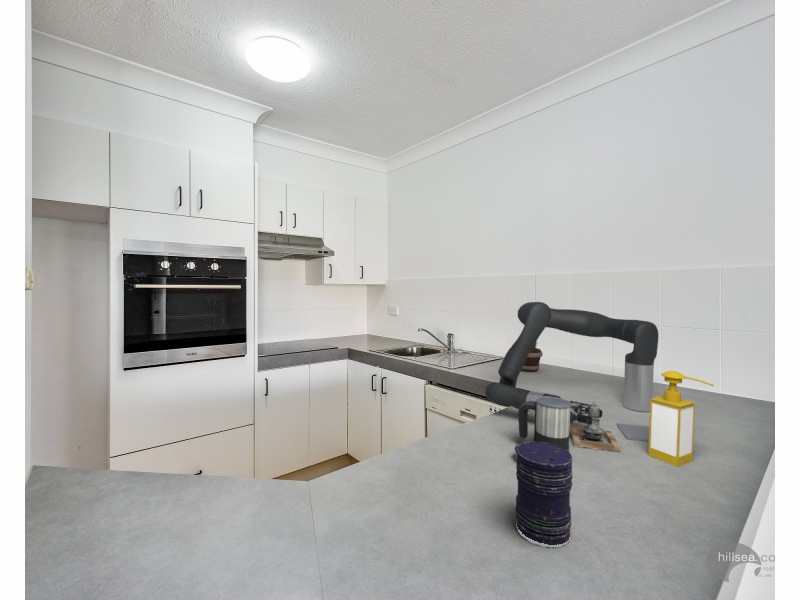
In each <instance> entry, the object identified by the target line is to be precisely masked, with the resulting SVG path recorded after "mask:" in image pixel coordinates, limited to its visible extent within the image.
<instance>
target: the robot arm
mask: <svg viewBox="0 0 800 600" xmlns="http://www.w3.org/2000/svg"><path fill="white" fill-rule="evenodd" d="M517 318H518V320H519V322H520V323H521V324H523V328H522V331H521V332H520V334H519V335H518V337H517V339H516V340H515V341H514V343H513V344H512V345H511V346H510V347H509V348H508V350H507V352H506V353H505V355H504V357H503V360H502V362H501V364H500V366H499V369H498V376H500V378H499V382H495V381H494V382H491V383H489V384H488V385H487V386H486V387H485V389H484V393H485V397H486V398H487V400H488V401H489V402H492V403H494V404H497V405H499V406H501V407H502V406H510V407H511V408H515V409H517V410H519V408H520V406H521V405H522V404H523V403H525V402H527V401H535V402H536V398H538V397H543V396H545V397H547V396H548V397H557V398H561V399H562V397H560V396H559V395H556V394H551V393H548V392H547V393H546V392H542V391H537V390H536V391H534V390H530V389H529V390H528V389H525V388H520V387H516V386H517V382H518V380H517V379H518V377H519V375H520V373H521V372H522V371H521V369H522V367H523V365H524V363H525V361H526V358H527V357H528V355H529V353H530V351H531V349H532V347H533V346H534V344H535V343H537V342H538V339H539V338H540V336H541V334H542V333H543V332H544V330H545V329H546V328H549V329H554V330H558V331H561V332H562V331H563V332H566V333H570V334H573V335H578V336H583V337H584V336H585V337H589V338H591V337H592V338H612V339H617V340H620V341H622V342H626V343H629V344H633V349H632V351H631V352H629V353H626V354H625V355H624V356H625V357H624V382H623V383H624V384H623V407H624V408H625V409H628V410H631V411H636V412H642V413H643V412H645V413H647V412H649V413H650V401H651V400H650V399H652V398H654V371H655V370H654V369H655V359H656V358H657V355H658V346H659V329H658V327H657V326H656V324H655V323H654V322H651V321H648V320H641V319H621V318H620V319H619V318H613V317H610V316H607V315H604V314H601V313H599V312H593V311H588V310H583V309H582V310H581V309H566V308H565V309H560V308H553V307H550V306H549V305H548V304H547V303H546V302H541V301H530V302H526V303H524V304H522V305H521V306H519V308H518V310H517ZM536 341H537V342H536ZM569 401H570V402H571V403H572V407H571V409H570V424H574V423H582V424H585V425H586V424H589V425H591V424H592V417H591V416H587V415H588V412H589V405H590V404H589V403H585V402H579V401H574V400H569ZM528 413H531V414H533V415H535V410H532V409H529V410H528ZM599 417H601V418H602V417H603V410H602V409H600V410H599Z"/></svg>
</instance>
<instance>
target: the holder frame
mask: <svg viewBox="0 0 800 600" xmlns="http://www.w3.org/2000/svg"><path fill="white" fill-rule="evenodd" d="M582 428H583V427H578V426H577V427H575V426H570V430H569V432H570V433H569V436H570V435H571V436H570V438H571V437H572V439H571V441H572V440H573V441H572V443H574V444H573V446H574V445H575V446H583V447H588V448H587V449H589V448H597V449H604V450H603V451H605V450H611V451H610V452H613V451H617V452H616V453H621V448H622V447H621V445H620V443H619V442H618V441H617V439H616V437H615V436H614V434H613V433H612V431H611V430H605V429H603V430H604V431H605V432H604V433H603V437H602V438H605V437H606V438H607V439H606V440H608V441H607V442H603V441H602V442H594V441H586V440H583V439H580V437H579V434H584V430H583V429H582ZM597 449H596V450H597Z"/></svg>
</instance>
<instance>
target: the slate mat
mask: <svg viewBox="0 0 800 600" xmlns="http://www.w3.org/2000/svg"><path fill="white" fill-rule="evenodd" d="M616 426H617V428H618V429H619V430H621V431H620V432H621V434H622V435H623V434H624V435H623V436H624V438H625V437H626V438H625V439H626V440H630V439H633V441H639V440H642V441H641V442H648V441H649V426H647V425H646V426H645V425H637V424H627V423H618V422H617V423H616Z"/></svg>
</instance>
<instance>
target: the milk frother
mask: <svg viewBox="0 0 800 600" xmlns="http://www.w3.org/2000/svg"><path fill="white" fill-rule="evenodd" d="M570 401H571V400H568V399H564V398H562V397H561V398H557V397H548V396H547V397H545V396H543V397H538V398H536V402H535V401H527V402H525V403H523V404H522V405H521V406H520V408H519V409H518V433H519V438H520V439H522V440H524V439H526V438H527V437H528V435H529V429H528V428H529V426H528V424H529V423H528V422H529V421H528V417H529V416H528V415H529V414H528V413H529V412H528V410H529V409H532V410H535V414H534V426H533V427H534V429H533V430H534V431H533V433H534V435H533V442H542V443H548V444H553V445H556V446H559V447H561V448H563V449H565V450H567V451H568V452H569V453H570V433H569V430H570V427H571V423H570V409H571V407H572V403H571V402H570ZM519 445H520V444H517V445H515V447H514V451H515V454H517V448H518V446H519Z"/></svg>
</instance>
